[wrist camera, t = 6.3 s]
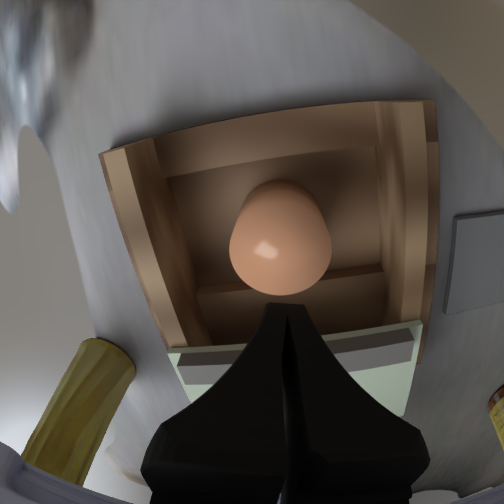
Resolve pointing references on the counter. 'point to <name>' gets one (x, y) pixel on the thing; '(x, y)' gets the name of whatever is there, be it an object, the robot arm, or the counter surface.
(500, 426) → the sauce bottle
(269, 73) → the counter surface
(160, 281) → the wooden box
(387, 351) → the cover
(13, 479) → the robot arm
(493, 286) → the coaster
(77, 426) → the vase
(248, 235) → the tan rounded cylinder
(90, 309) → the counter surface
